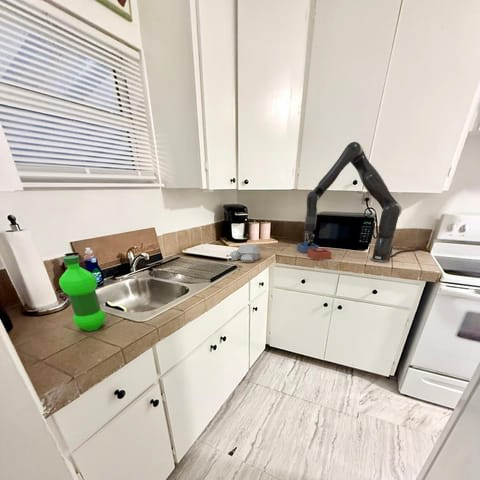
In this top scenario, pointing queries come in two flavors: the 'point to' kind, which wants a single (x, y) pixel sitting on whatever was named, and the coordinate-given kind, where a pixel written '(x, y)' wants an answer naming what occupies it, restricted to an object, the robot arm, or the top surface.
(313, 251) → the red bin
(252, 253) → the rock
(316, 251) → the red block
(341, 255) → the top surface
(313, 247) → the blue bin
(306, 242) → the blue block
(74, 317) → the plastic bottle
